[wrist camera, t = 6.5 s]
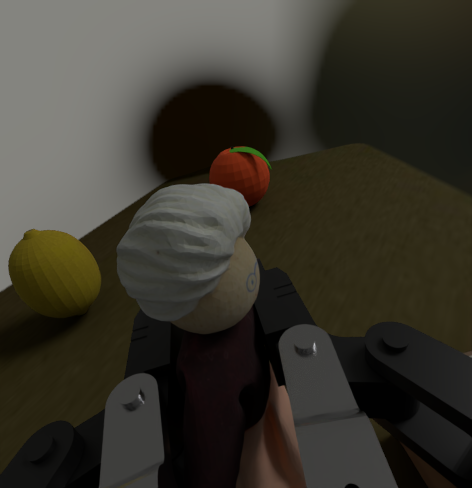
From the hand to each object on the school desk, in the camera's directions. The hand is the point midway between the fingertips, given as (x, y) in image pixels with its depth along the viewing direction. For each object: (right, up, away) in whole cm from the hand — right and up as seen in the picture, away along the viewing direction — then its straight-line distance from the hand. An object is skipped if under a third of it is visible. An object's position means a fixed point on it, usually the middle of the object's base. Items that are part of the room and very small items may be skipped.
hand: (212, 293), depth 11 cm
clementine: (+3, +6, +25) cm, 26 cm away
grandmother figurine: (+2, -8, +1) cm, 8 cm away
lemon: (-12, -4, +14) cm, 19 cm away
